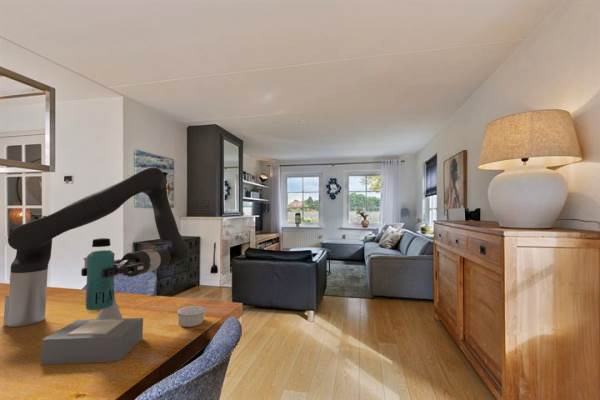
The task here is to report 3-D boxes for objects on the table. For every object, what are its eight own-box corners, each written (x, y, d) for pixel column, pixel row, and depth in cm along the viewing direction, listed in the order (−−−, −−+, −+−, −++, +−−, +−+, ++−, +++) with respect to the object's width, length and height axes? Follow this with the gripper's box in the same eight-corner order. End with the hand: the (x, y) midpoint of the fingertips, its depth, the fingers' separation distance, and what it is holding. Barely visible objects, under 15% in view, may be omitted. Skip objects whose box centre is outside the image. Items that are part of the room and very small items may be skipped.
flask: (108, 324, 93) (110, 294, 93) (90, 322, 94) (92, 292, 95) (126, 316, 100) (127, 288, 101) (109, 315, 101) (110, 287, 102)
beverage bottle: (91, 318, 72) (93, 240, 72) (80, 313, 75) (82, 238, 76) (118, 310, 77) (120, 238, 78) (107, 306, 81) (109, 236, 82)
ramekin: (193, 316, 102) (193, 304, 102) (210, 321, 97) (210, 308, 97) (171, 324, 94) (171, 311, 94) (188, 330, 89) (189, 316, 90)
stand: (40, 364, 68) (42, 337, 68) (76, 340, 81) (78, 318, 81) (119, 361, 70) (120, 335, 70) (142, 338, 83) (143, 316, 83)
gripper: (123, 249, 92) (71, 257, 76) (160, 251, 89) (115, 260, 73) (122, 272, 92) (70, 285, 76) (160, 275, 89) (114, 289, 72)
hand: (92, 273), depth 74 cm, fingers closed on beverage bottle, 6 cm apart
